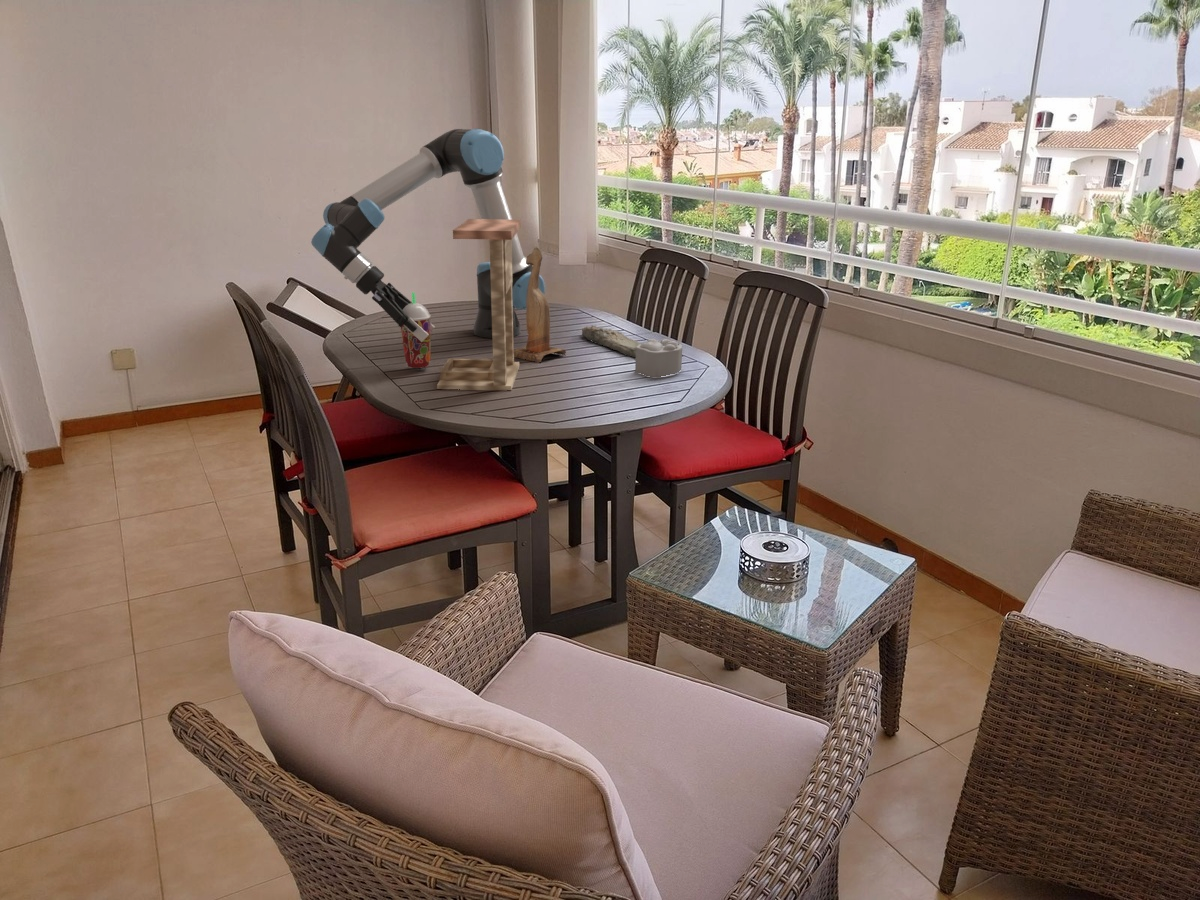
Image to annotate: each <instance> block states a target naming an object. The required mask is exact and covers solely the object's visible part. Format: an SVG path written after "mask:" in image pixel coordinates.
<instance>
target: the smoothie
mask: <svg viewBox="0 0 1200 900" xmlns="http://www.w3.org/2000/svg"><path fill="white" fill-rule="evenodd" d="M411 295H412V297H411V298H412V303H410V304H408V305H406V306H405V307H404V308H403V312H404V313H405V314H406V315H407V316H408V318H409V319H410V318H412V319H413V320H414V321H415V322H416V323H417V324H418V325H419V326H420V327H421V328H422V329H423V330H425V331H426V332H427V333H428V334H429V335H428V336H427V337H426V338H425V339H424V340H423V341H422V342H421V341H420V340H419V339H418V338H417V337H415V336H414V335H413V334H412V333H411V332H410V331H409V330H408V329H407V328H406V327H405V326H404V324H403V326H402V327H400V331H401V340H402V346H403V352H404V359H405V360H404V361H405V363H407V366H408V367H409V368H412V369H423V368H427V367H428V366H429V364H430V362H431V355H432V354H431V352H432V350H431V340H432V339H431V336H432V333H431V332H432V331H431V324H432V321H431V317H432V315H431V314H430V312H429V311H428V308H427V307H425V306H424V305H423V304H421V303H418V302H416V294H415V292H412V294H411ZM409 319H408V320H409Z"/></svg>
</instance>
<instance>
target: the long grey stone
mask: <svg viewBox="0 0 1200 900" xmlns="http://www.w3.org/2000/svg"><path fill="white" fill-rule="evenodd" d="M581 335H582V336H583V337H584V338H586V339H587V340H588V339H589V340H588V341H590V340H592V341H593V342H596V343H598V344H597V345H600V346H602V345H603V347H608V348H610V349H611V350H612V349H613V350H614V351H616V352H618V353H621V354H623V355H625V354H626V355H625V356H627V355H629V357H631V356H632V357H633V358H635V357H636V347H637V346H638V345H641V344H642V343H641V342H640V341H636V340H634V339H631V338H629V337H627V336H626V335H624V334H623V333H622V332H621V331H617V330H615V329H611V328H609V329H608V328H604V327H602V328H601V327H598V326H596V325H591V326H585V327H582V329H581ZM592 341H591V342H592ZM596 343H595V344H596Z"/></svg>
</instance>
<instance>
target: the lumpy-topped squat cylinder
mask: <svg viewBox="0 0 1200 900" xmlns="http://www.w3.org/2000/svg"><path fill="white" fill-rule="evenodd" d="M682 362H683V344H681V343H679V342H676V341H675V340H671V339H668V338H665V339H662V340H657V339H655V338H650V339H648V340H647V341H646V342H643V343H641V345H638V346H637V347H636V358H635V368H634V369H635V372H634V373H636V374H638V373H641V374H644V375H646V376H650V377H661V376H666V375H670V374H675V373H677V372H679V371H680V370H681V371H682V367H683V366H682V364H683V363H682ZM641 374H640V375H641ZM644 375H643V376H644ZM646 376H645V377H646Z"/></svg>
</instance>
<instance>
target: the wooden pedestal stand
mask: <svg viewBox="0 0 1200 900" xmlns="http://www.w3.org/2000/svg"><path fill="white" fill-rule="evenodd" d="M521 221H522V220H521V219H512V220H500V219H481V218H468V219H466V220H465V221H463V222H462V223H461V224H460V225H457V227H455V228H454V229H452V238H453V240H488V242H489V241H490V242H489V262H490V274H491V307H492V338H491V339H492V358H448V359H447V361H446V362H445V363H444V365H443V366H442V368H441V369H440V372H439V378H440V379H439V381H438V383H437V384H436V390H437V389H458V390H457V391H507V390H511V391H512V390H513V387H514V384H515V381H516V378H517V374H518V371H519V369H520V361H515V357H514V350H515V347H514V336H513V298H512V283H513V280H512V239H513V237H514V236H515V235H516V233H517V234H518V233H519V231H520V229H521V228H522V222H521ZM459 389H460V390H459Z"/></svg>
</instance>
